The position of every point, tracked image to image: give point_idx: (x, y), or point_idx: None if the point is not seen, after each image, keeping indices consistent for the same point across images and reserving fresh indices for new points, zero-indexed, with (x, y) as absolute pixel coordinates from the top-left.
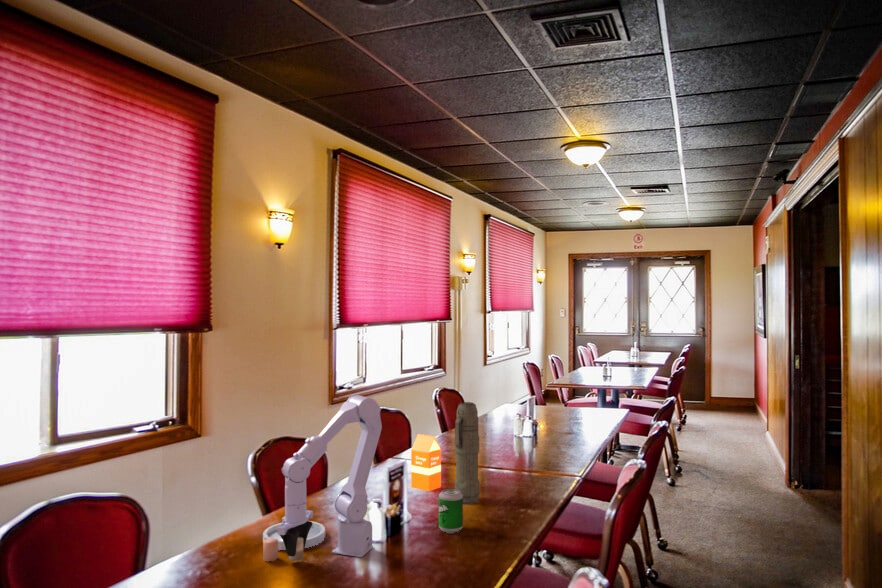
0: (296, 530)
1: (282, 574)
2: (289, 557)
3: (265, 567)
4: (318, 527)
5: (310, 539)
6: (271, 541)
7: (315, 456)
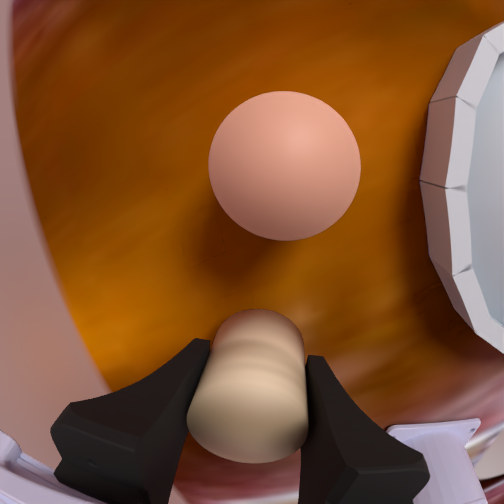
0: (324, 453)
1: (119, 317)
2: (218, 332)
3: (159, 192)
4: None
5: (485, 338)
6: (273, 180)
7: None
